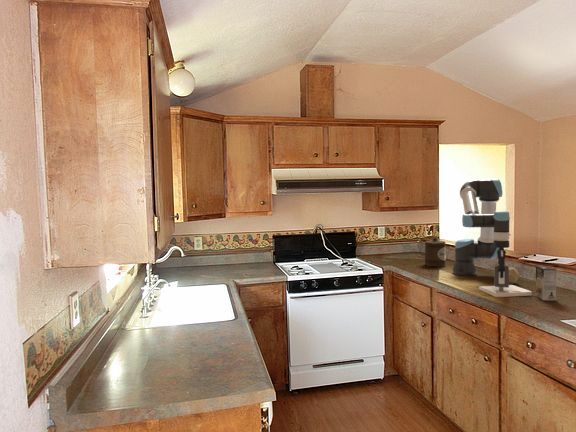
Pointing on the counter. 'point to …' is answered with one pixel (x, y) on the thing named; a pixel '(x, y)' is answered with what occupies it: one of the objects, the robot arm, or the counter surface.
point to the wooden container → (435, 253)
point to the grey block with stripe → (496, 276)
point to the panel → (505, 291)
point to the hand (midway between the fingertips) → (501, 282)
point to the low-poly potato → (513, 275)
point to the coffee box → (546, 282)
